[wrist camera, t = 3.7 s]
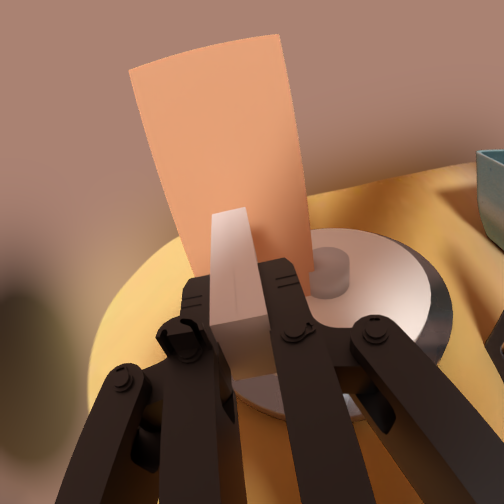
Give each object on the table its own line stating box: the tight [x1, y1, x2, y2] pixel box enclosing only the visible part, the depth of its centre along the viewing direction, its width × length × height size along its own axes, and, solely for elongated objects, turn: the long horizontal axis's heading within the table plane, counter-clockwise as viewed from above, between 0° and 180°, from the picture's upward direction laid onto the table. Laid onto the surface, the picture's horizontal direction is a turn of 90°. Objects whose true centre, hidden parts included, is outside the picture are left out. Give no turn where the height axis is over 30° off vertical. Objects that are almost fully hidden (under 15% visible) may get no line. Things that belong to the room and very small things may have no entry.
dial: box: [128, 34, 431, 376], centre depth 16 cm, size 16×15×17 cm
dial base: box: [231, 233, 453, 422], centre depth 21 cm, size 19×19×4 cm
